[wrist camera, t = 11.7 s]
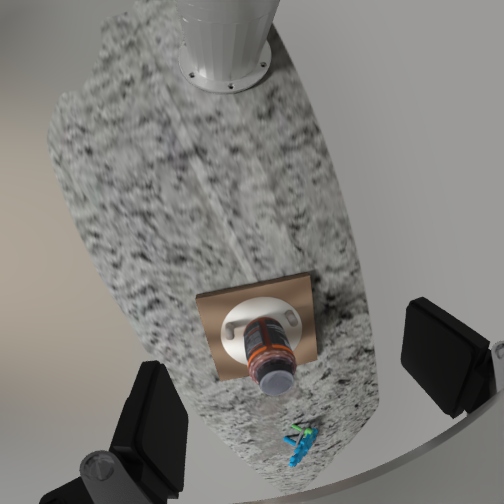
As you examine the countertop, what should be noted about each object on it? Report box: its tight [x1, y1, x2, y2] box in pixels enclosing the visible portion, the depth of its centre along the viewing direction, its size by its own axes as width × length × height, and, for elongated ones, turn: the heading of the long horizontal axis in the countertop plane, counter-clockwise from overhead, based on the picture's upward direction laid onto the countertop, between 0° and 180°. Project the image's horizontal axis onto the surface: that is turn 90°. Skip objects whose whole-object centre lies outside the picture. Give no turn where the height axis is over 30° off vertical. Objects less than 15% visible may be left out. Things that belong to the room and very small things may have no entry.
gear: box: [283, 424, 318, 467], centre depth 46 cm, size 11×6×10 cm
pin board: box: [196, 272, 317, 381], centre depth 38 cm, size 15×16×4 cm
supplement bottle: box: [243, 317, 297, 395], centre depth 33 cm, size 6×6×11 cm
